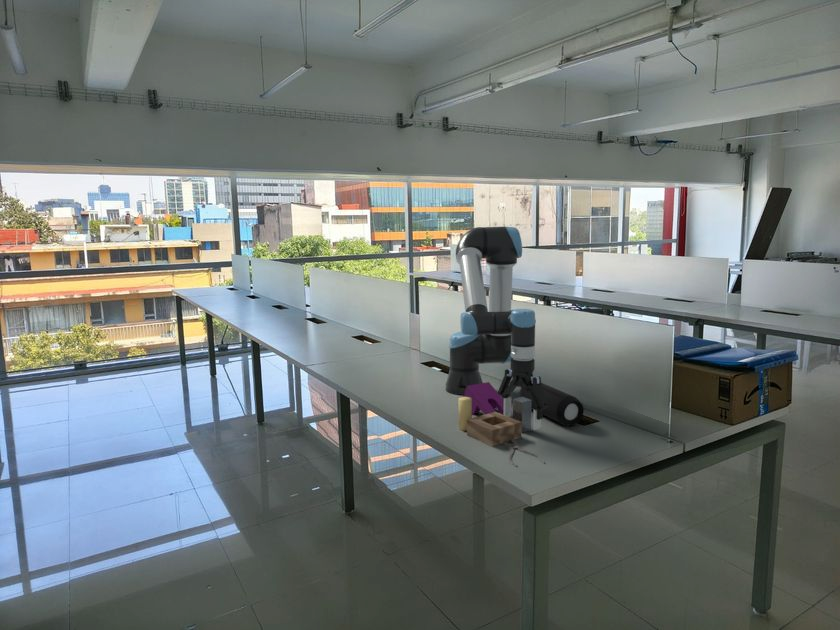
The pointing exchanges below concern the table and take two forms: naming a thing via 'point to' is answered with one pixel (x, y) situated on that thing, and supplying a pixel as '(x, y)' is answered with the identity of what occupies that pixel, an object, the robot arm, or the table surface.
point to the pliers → (516, 446)
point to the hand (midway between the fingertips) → (521, 422)
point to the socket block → (494, 428)
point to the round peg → (464, 412)
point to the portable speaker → (559, 405)
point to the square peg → (522, 412)
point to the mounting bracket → (484, 398)
